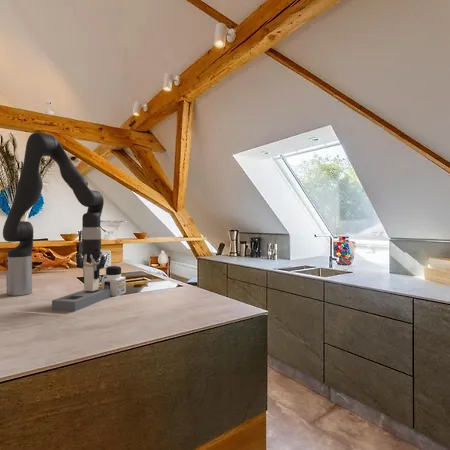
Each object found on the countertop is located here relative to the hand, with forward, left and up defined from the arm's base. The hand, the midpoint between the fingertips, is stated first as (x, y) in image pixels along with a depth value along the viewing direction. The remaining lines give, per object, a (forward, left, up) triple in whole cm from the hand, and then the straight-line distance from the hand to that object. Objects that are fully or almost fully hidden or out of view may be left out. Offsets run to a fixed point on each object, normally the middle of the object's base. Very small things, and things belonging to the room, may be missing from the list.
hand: (91, 278), depth 135 cm
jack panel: (0, -6, -9) cm, 11 cm away
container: (+3, +11, -10) cm, 15 cm away
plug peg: (0, 0, -5) cm, 5 cm away
